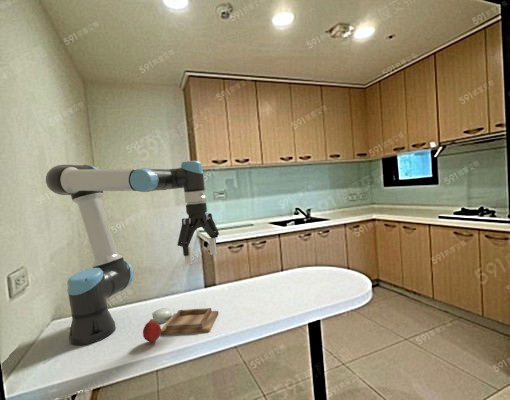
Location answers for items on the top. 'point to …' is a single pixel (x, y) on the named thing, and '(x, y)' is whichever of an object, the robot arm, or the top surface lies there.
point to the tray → (190, 321)
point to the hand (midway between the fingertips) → (201, 259)
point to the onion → (151, 331)
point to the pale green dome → (162, 315)
